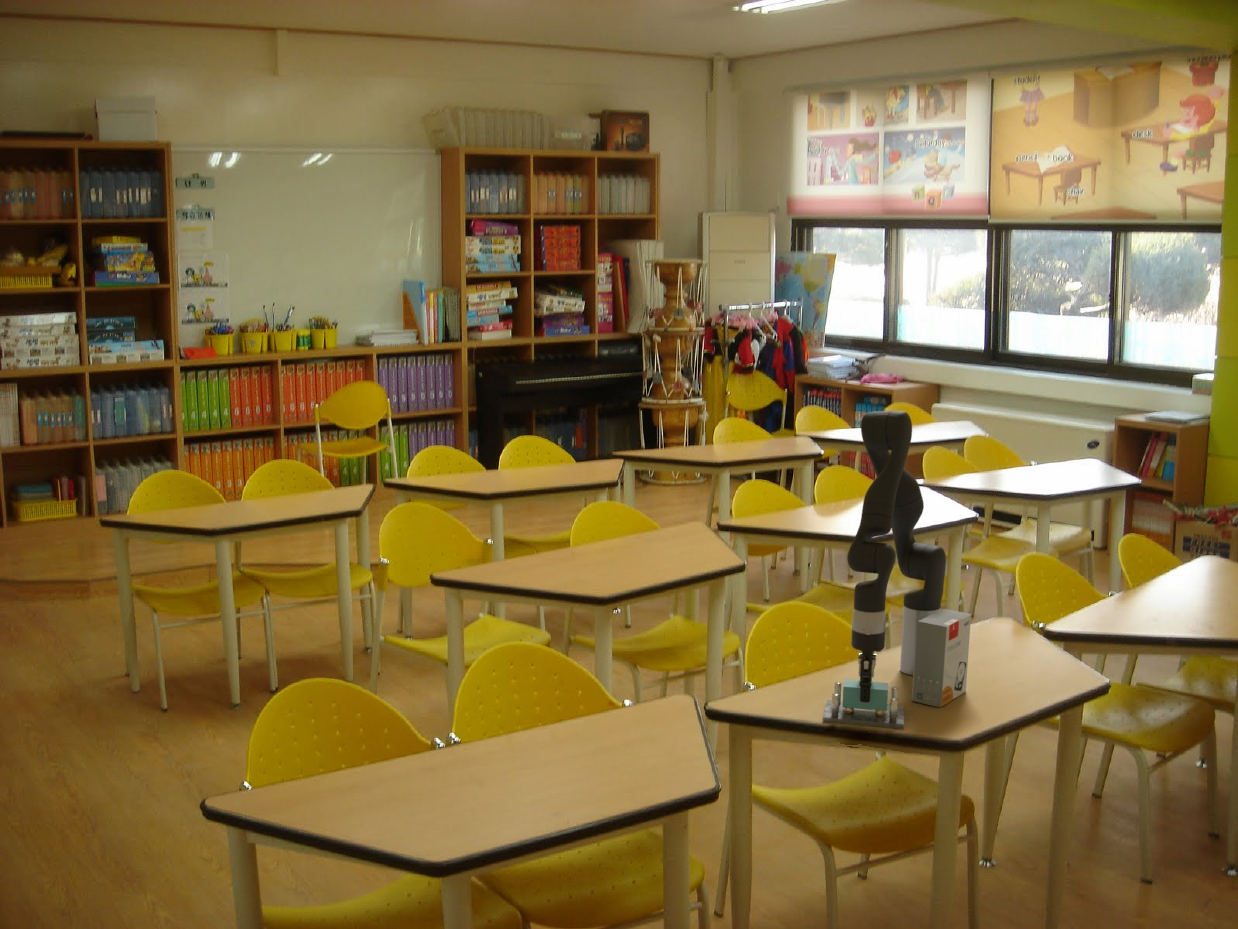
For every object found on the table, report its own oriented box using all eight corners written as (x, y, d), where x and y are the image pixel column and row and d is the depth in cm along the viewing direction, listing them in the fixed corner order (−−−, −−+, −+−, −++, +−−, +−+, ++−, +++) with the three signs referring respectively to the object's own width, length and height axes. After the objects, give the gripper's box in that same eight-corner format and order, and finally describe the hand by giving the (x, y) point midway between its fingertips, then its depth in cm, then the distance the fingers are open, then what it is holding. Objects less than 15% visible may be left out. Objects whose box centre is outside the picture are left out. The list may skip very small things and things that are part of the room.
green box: (843, 700, 304) (844, 679, 304) (887, 703, 302) (888, 683, 301) (842, 707, 300) (843, 686, 299) (886, 711, 298) (887, 690, 297)
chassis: (826, 703, 309) (827, 679, 308) (904, 710, 305) (905, 686, 304) (823, 721, 298) (824, 696, 297) (903, 729, 294) (905, 703, 293)
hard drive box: (941, 709, 306) (945, 627, 303) (910, 702, 311) (914, 621, 308) (967, 691, 319) (971, 612, 315) (937, 685, 323) (941, 607, 320)
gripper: (853, 617, 305) (850, 684, 308) (850, 635, 292) (847, 704, 294) (886, 620, 304) (883, 686, 307) (884, 638, 290) (881, 707, 293)
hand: (865, 695), depth 300 cm, fingers open, 8 cm apart
